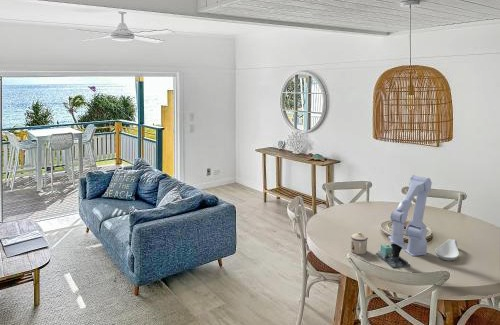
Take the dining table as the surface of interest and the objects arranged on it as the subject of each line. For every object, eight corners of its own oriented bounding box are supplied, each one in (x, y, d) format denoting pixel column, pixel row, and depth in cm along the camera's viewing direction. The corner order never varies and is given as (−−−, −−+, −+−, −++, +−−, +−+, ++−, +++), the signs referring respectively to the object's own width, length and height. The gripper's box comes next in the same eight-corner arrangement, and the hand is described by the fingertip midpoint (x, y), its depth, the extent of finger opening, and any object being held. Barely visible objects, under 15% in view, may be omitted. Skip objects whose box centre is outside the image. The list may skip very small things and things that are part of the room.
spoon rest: (456, 265, 208) (457, 252, 206) (432, 259, 215) (433, 247, 213) (463, 249, 226) (464, 238, 225) (441, 245, 233) (442, 233, 232)
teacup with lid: (350, 247, 232) (350, 229, 230) (366, 248, 230) (367, 229, 228) (351, 256, 220) (352, 236, 218) (368, 257, 219) (369, 237, 216)
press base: (391, 252, 224) (392, 248, 224) (410, 265, 208) (410, 261, 207) (375, 254, 222) (376, 250, 222) (392, 268, 206) (393, 264, 205)
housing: (388, 250, 223) (389, 242, 222) (393, 254, 218) (394, 246, 217) (380, 251, 222) (380, 243, 221) (385, 255, 217) (385, 246, 216)
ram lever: (392, 255, 218) (393, 244, 217) (399, 260, 212) (399, 249, 211) (386, 256, 217) (386, 245, 216) (392, 260, 211) (392, 250, 210)
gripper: (383, 228, 214) (382, 252, 217) (398, 238, 200) (397, 263, 203) (395, 227, 216) (394, 250, 218) (411, 237, 202) (409, 262, 204)
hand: (396, 256), depth 211 cm, fingers closed
